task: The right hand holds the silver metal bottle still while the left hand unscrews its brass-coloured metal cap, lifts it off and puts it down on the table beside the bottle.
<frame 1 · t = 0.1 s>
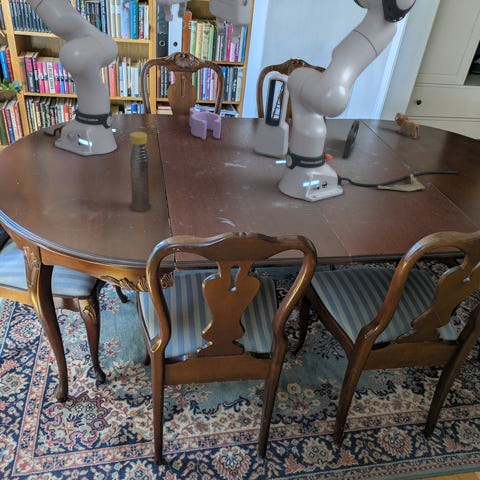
left hand: (175, 19, 144), 48 cm above the table, tool pointing down, fingers open, 8 cm apart
right hand: (227, 39, 124), 48 cm above the table, tool pointing down, fingers open, 8 cm apart
electronic device: (269, 154, 185), on the table
jawbone: (396, 185, 172), on the table
handheld gaming console: (349, 150, 197), on the table
clip: (203, 131, 201), on the table
cap: (138, 135, 129), point 23 cm above the table, screwed on, not yet turned
lion figurine: (404, 134, 221), on the table
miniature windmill: (278, 126, 215), on the table
bottle: (140, 207, 141), on the table
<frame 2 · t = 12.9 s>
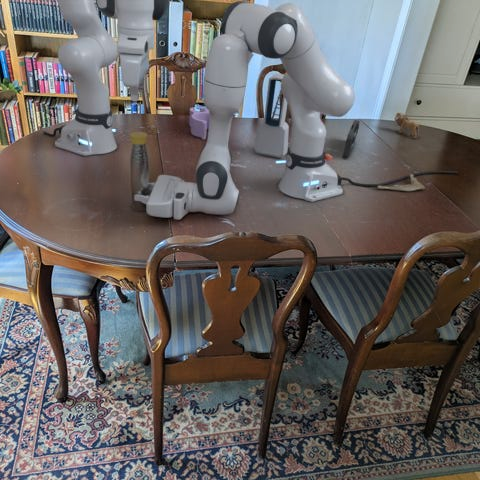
left hand: (137, 95, 123), 34 cm above the table, tool pointing down, fingers open, 7 cm apart
right hand: (137, 191, 138), 5 cm above the table, tool horizontal, fingers closed on bottle, 5 cm apart
bottle: (140, 207, 141), on the table, touching right hand
everything else where it was.
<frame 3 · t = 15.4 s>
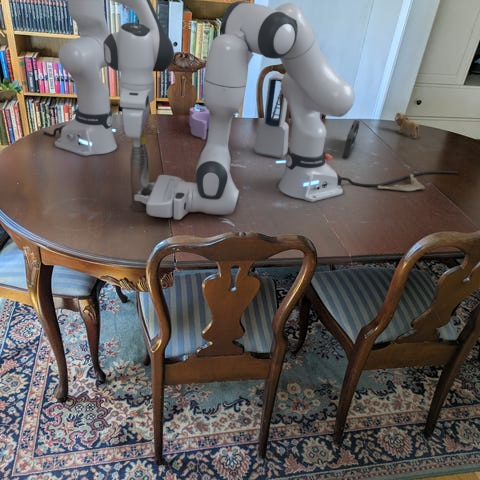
left hand: (138, 142, 130), 21 cm above the table, tool pointing down, fingers closed on cap, 4 cm apart
right hand: (137, 191, 138), 5 cm above the table, tool horizontal, fingers closed on bottle, 5 cm apart
cap: (138, 135, 129), point 23 cm above the table, screwed on, not yet turned, touching left hand
bottle: (140, 207, 141), on the table, touching right hand
everything else where it was.
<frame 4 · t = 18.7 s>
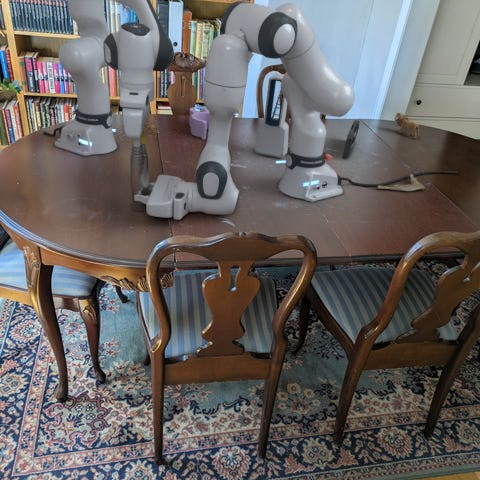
left hand: (138, 141, 130), 21 cm above the table, tool pointing down, fingers closed on cap, 4 cm apart
right hand: (137, 191, 138), 5 cm above the table, tool horizontal, fingers closed on bottle, 5 cm apart
cap: (138, 135, 129), point 23 cm above the table, turned 88° so far, risen 0.1 cm, still on its thread, touching left hand
bottle: (140, 207, 141), on the table, touching right hand
everything else where it was.
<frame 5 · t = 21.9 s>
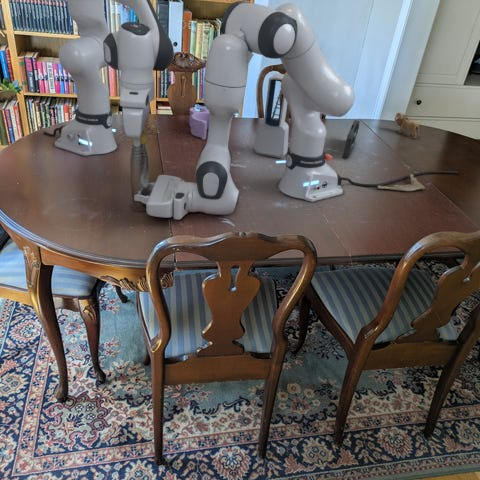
left hand: (138, 141, 130), 21 cm above the table, tool pointing down, fingers closed on cap, 4 cm apart
right hand: (137, 191, 138), 5 cm above the table, tool horizontal, fingers closed on bottle, 5 cm apart
cap: (138, 134, 129), point 23 cm above the table, turned 175° so far, risen 0.2 cm, still on its thread, touching left hand
bottle: (140, 207, 141), on the table, touching right hand
everything else where it was.
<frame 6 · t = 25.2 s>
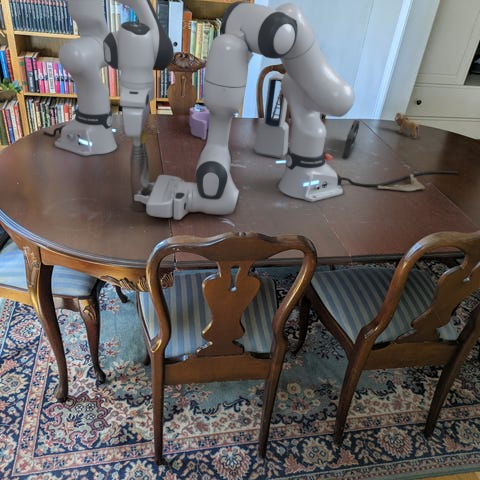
left hand: (138, 141, 129), 21 cm above the table, tool pointing down, fingers closed on cap, 4 cm apart
right hand: (137, 191, 138), 5 cm above the table, tool horizontal, fingers closed on bottle, 5 cm apart
cap: (138, 134, 128), point 23 cm above the table, turned 263° so far, risen 0.3 cm, still on its thread, touching left hand
bottle: (140, 207, 141), on the table, touching right hand
everything else where it was.
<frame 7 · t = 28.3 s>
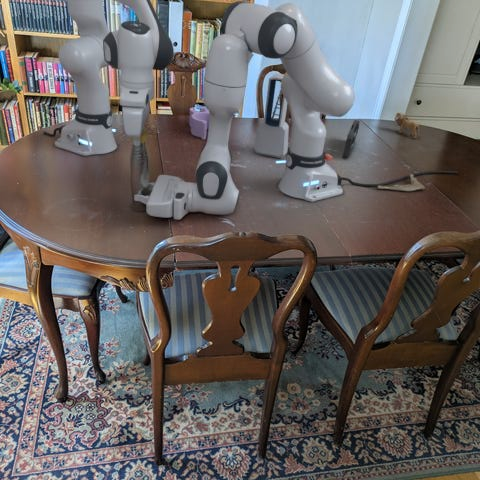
left hand: (138, 140, 129), 21 cm above the table, tool pointing down, fingers closed on cap, 4 cm apart
right hand: (137, 191, 138), 5 cm above the table, tool horizontal, fingers closed on bottle, 5 cm apart
cap: (138, 134, 128), point 23 cm above the table, turned 351° so far, risen 0.4 cm, still on its thread, touching left hand
bottle: (140, 207, 141), on the table, touching right hand
everything else where it was.
when the left hand's fingers open (2 cm above the table, at t = 35.5 s): cap drops 2 cm, point 2 cm above the table.
when the right hand's fingers open (5 cm above the table, at t = 36.7 s): bottle stays where it is, on the table.
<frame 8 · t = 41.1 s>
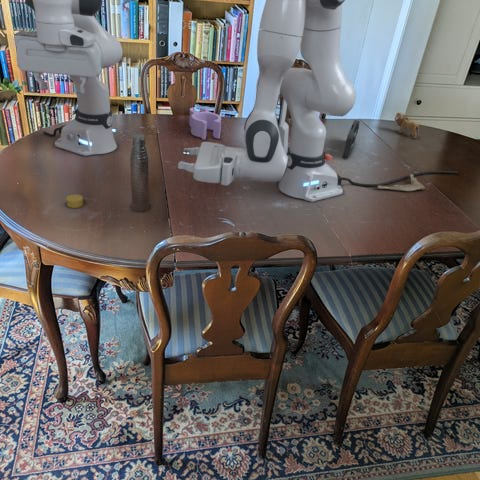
left hand: (62, 91, 121), 33 cm above the table, tool pointing down, fingers open, 8 cm apart
right hand: (181, 157, 132), 17 cm above the table, tool horizontal, fingers open, 8 cm apart
cap: (74, 198, 138), point 2 cm above the table, off its thread
bottle: (140, 207, 141), on the table
everything else where it was.
at the end: cap came off its thread; cap point 1.7 cm above the table; the left hand is holding nothing; the right hand is holding nothing; bottle tilted 0°; bottle moved 0.0 cm from its start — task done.
